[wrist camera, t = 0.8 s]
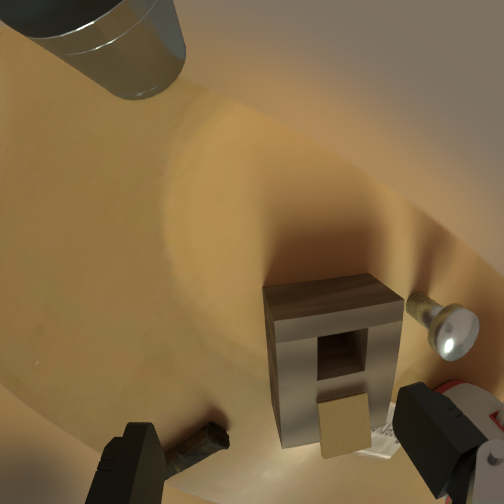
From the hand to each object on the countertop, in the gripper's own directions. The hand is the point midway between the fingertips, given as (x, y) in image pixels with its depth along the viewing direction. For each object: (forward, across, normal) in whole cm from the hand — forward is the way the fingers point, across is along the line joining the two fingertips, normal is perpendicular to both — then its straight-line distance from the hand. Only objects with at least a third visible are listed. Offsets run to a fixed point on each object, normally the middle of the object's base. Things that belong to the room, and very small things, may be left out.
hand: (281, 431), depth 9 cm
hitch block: (+24, -8, +11) cm, 28 cm away
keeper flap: (+15, -8, +16) cm, 23 cm away
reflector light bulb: (+24, -21, +8) cm, 33 cm away
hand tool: (+25, +12, +28) cm, 40 cm away
